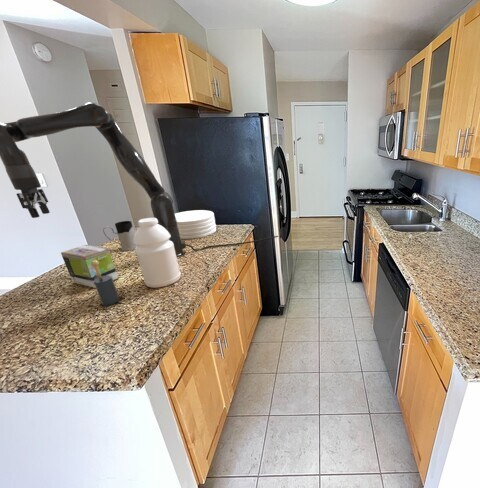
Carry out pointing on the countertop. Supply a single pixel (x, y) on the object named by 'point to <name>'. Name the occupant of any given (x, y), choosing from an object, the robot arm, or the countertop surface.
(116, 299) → the spoon crock
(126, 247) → the glass holder
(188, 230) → the plate stack
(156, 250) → the bottle
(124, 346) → the countertop surface
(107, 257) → the tea box
